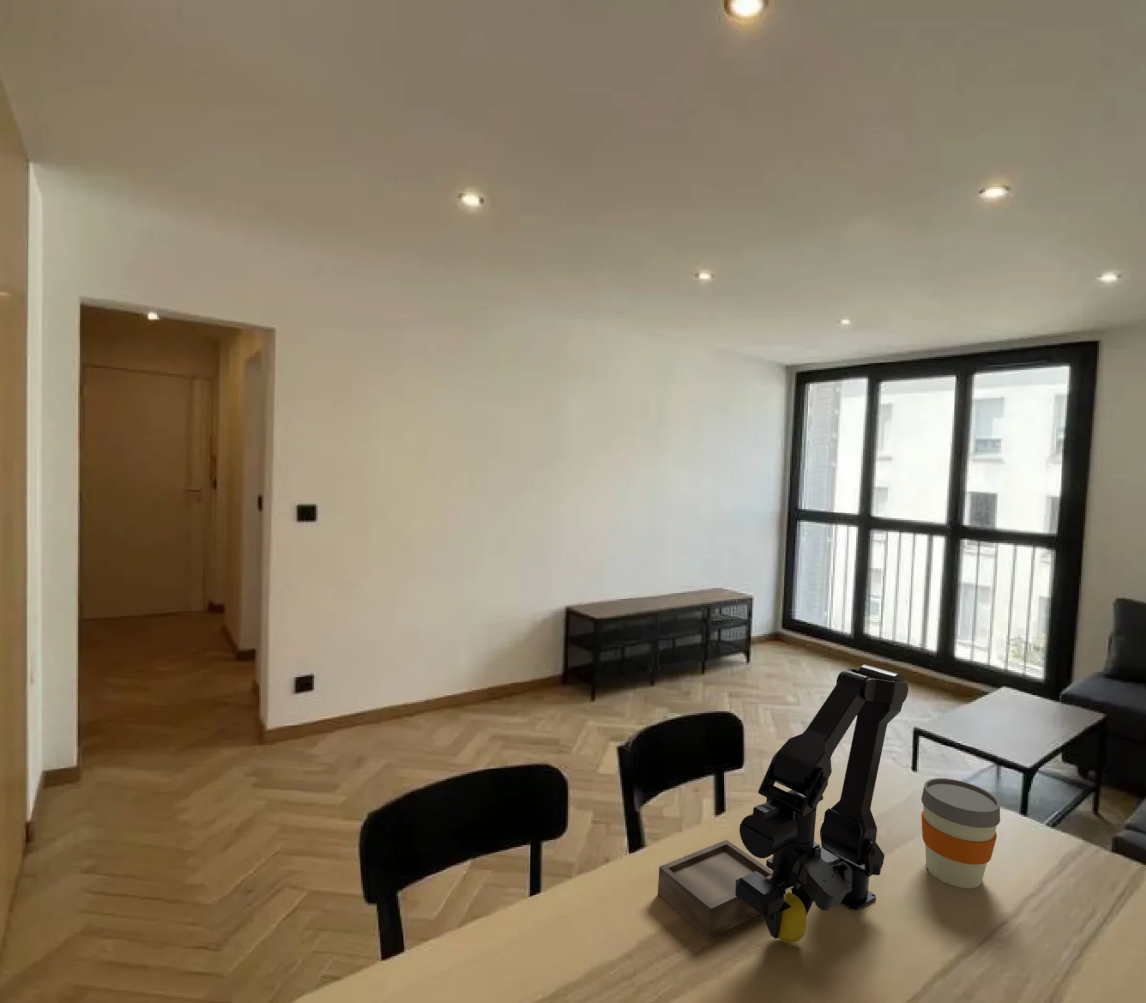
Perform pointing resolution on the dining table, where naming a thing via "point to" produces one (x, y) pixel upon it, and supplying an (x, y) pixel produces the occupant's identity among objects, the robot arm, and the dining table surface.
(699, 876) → the wooden tray
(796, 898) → the lemon
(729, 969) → the dining table surface
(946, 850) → the reusable coffee cup
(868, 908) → the dining table surface
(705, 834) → the dining table surface
